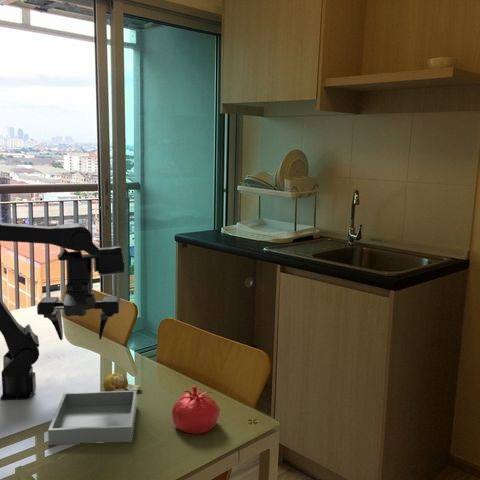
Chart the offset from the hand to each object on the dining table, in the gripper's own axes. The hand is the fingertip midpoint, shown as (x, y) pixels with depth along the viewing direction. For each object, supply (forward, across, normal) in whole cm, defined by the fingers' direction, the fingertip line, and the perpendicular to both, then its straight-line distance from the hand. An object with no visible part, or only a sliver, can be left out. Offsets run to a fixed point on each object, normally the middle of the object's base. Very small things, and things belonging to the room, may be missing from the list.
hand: (81, 339), depth 131 cm
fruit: (+14, +12, -5) cm, 19 cm away
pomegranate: (+12, +27, -22) cm, 37 cm away
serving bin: (+12, +6, -20) cm, 24 cm away
